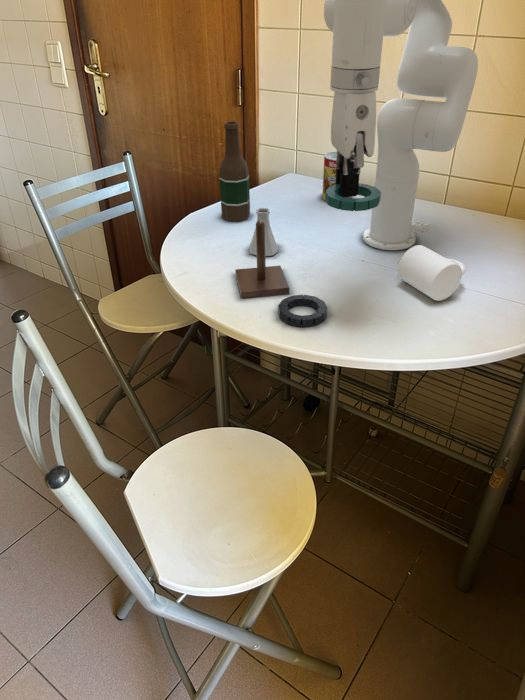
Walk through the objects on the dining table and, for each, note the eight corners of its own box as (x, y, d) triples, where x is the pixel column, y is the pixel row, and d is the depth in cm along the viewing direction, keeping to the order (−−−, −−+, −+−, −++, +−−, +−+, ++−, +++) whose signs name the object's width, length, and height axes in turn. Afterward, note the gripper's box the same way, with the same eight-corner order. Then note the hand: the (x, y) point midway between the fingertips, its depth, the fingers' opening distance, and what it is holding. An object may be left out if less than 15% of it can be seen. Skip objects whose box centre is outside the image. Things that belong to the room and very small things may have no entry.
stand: (280, 271, 116) (280, 209, 108) (289, 293, 108) (290, 228, 100) (235, 275, 115) (232, 213, 107) (241, 298, 107) (238, 232, 99)
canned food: (330, 204, 148) (333, 161, 141) (317, 195, 154) (319, 153, 146) (354, 200, 150) (358, 157, 143) (340, 191, 156) (343, 150, 149)
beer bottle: (256, 214, 143) (253, 121, 129) (239, 224, 138) (235, 128, 123) (232, 209, 146) (227, 117, 132) (216, 218, 141) (209, 124, 127)
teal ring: (368, 189, 95) (369, 180, 94) (387, 208, 88) (388, 199, 87) (319, 193, 94) (319, 185, 93) (334, 213, 87) (335, 203, 86)
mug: (427, 305, 104) (434, 269, 99) (394, 284, 111) (400, 249, 106) (472, 290, 108) (481, 255, 103) (438, 270, 115) (444, 236, 111)
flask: (275, 258, 122) (275, 217, 116) (245, 256, 123) (243, 215, 117) (281, 245, 127) (281, 205, 121) (252, 243, 128) (250, 203, 123)
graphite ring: (319, 299, 106) (320, 292, 105) (331, 324, 99) (332, 317, 98) (275, 303, 105) (275, 297, 104) (283, 329, 98) (283, 322, 97)
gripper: (396, 87, 77) (381, 208, 88) (361, 69, 90) (352, 177, 100) (346, 90, 76) (338, 212, 87) (318, 72, 89) (314, 180, 100)
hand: (346, 192), depth 94 cm, fingers closed on teal ring, 2 cm apart
